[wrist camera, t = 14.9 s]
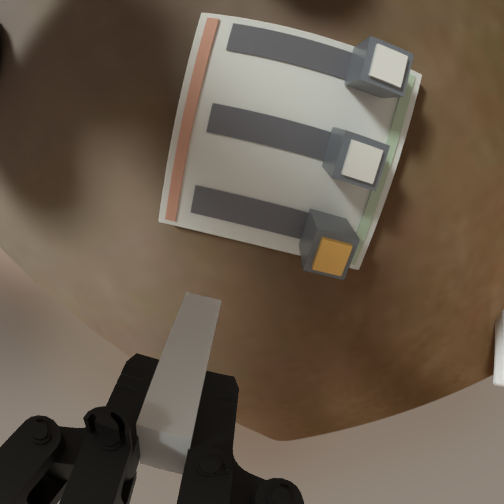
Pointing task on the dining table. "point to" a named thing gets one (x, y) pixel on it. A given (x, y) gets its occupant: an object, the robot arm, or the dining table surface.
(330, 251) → the block
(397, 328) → the dining table surface
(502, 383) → the wavy white extrusion
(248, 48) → the panel
